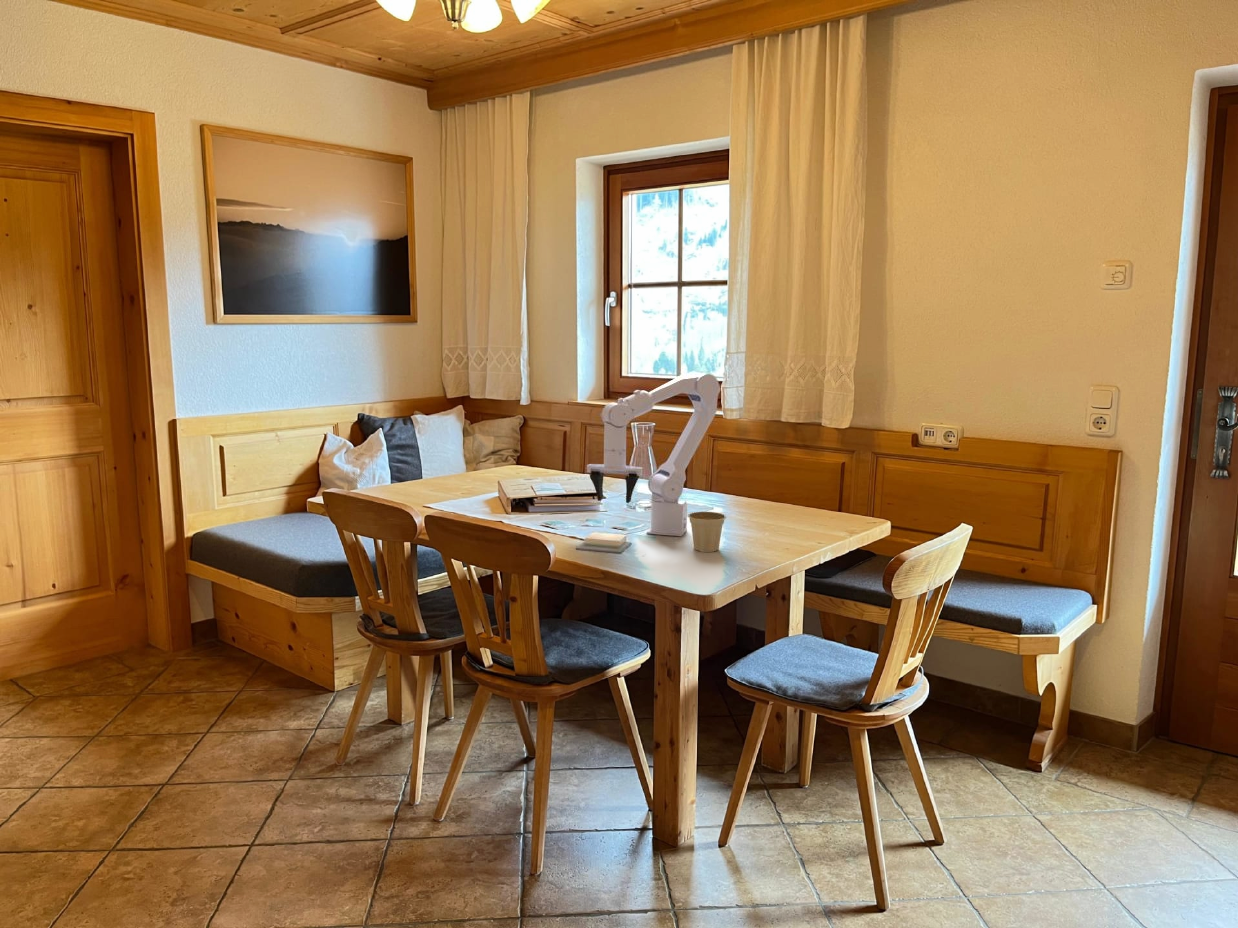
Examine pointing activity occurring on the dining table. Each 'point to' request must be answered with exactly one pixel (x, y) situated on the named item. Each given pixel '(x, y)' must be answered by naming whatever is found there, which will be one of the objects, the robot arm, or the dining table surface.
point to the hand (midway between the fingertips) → (614, 501)
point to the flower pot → (706, 530)
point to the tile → (605, 539)
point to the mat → (604, 548)
